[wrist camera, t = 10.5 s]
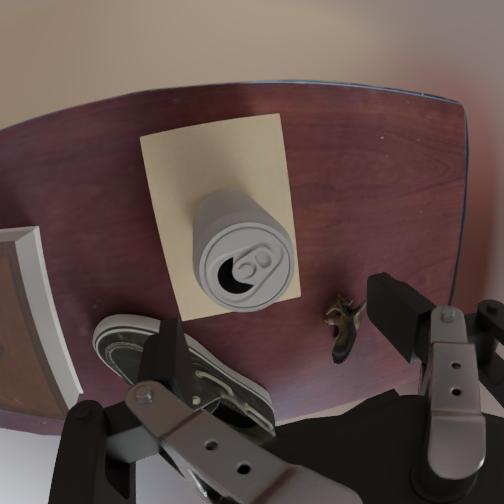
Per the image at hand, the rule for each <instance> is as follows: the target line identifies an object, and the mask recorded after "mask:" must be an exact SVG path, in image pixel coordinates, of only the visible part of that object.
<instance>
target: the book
mask: <svg viewBox="0 0 504 504" xmlns="http://www.w3.org/2000/svg"><path fill="white" fill-rule="evenodd" d="M79 393H83V391H82V388H81V386H80V383H79V380H78V378H77V375H76V372H75V370H74V367H73V364H72V361H71V358H70V355H69V352H68V349H67V346H66V343H65V340H64V337H63V334H62V330H61V327H60V324H59V320H58V316H57V313H56V309H55V305H54V301H53V297H52V293H51V289H50V285H49V280H48V276H47V271H46V266H45V261H44V256H43V250H42V244H41V238H40V231H39V226H30V227H19V228H9V229H0V409H4V410H8V411H13V412H18V413H23V414H29V415H34V416H40V417H47V418H54V419H61V420H66V416H67V413H68V411H69V410H70V409H71V408H72V407H73V406H74V405H75V404H76V402H77V399H78V396H79Z"/></svg>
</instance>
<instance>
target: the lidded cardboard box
mask: <svg viewBox="0 0 504 504" xmlns="http://www.w3.org/2000/svg"><path fill="white" fill-rule="evenodd" d="M140 142H141V148H142V154H143V159H144V165H145V170H146V175H147V180H148V185H149V190H150V195H151V200H152V204H153V209H154V213H155V218H156V222H157V227H158V231H159V235H160V239H161V243H162V248H163V252H164V256H165V260H166V264H167V267H168V271H169V275H170V279H171V283H172V286H173V290H174V293H175V297H176V301H177V304H178V308H179V311H180V315H181V318H182V321H186V320H192V319H197V318H202V317H207V316H212V315H218V314H222V313H227V312H232V311H231V310H228V309H225V308H223V307H221V306H219V305H218V304H216V303H215V302H214V301H213V300H212V299H211V298H210V297H209V296H208V295H207V294H205V292H204V291H203V290H202V289H201V287H200V286H199V284H198V282H197V280H196V278H195V275H194V270H193V218H194V214H195V211H196V209H197V207H198V206H199V204H200V203H201V202H202V201H203V200H204V199H205V198H206V197H207V196H209V195H210V194H212V193H214V192H216V191H220V190H225V189H232V190H238V191H241V192H243V193H245V194H247V195H249V196H250V197H251V198H252V199H253V200H255V201H256V202H257V203H258V204H259V205H260V206H261V207H262V208H263V209H265V210H266V211H267V212H268V213H269V214H270V215H271V216H272V217H273V218H274V219H275V220H277V221H278V222H279V223H280V224H281V225H282V226H283V227H284V229H285V230H286V231H287V233H288V234H289V236H290V238H291V241H292V244H293V247H294V261H295V268H294V274H293V278H292V280H291V283H290V285H289V287H288V288H287V290H286V291H285V293H284V294H283V295H282V296H281V297H280V298H279V299H278V300H277V301H275V302H278V301H283V300H287V299H292V298H296V297H300V296H301V292H300V281H299V270H298V260H297V250H296V240H295V231H294V222H293V213H292V204H291V196H290V188H289V180H288V172H287V164H286V157H285V149H284V142H283V135H282V128H281V121H280V114H279V113H277V114H267V115H259V116H251V117H243V118H236V119H229V120H223V121H216V122H210V123H205V124H199V125H193V126H188V127H183V128H178V129H173V130H168V131H164V132H159V133H155V134H150V135H146V136H142V137H140Z"/></svg>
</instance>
